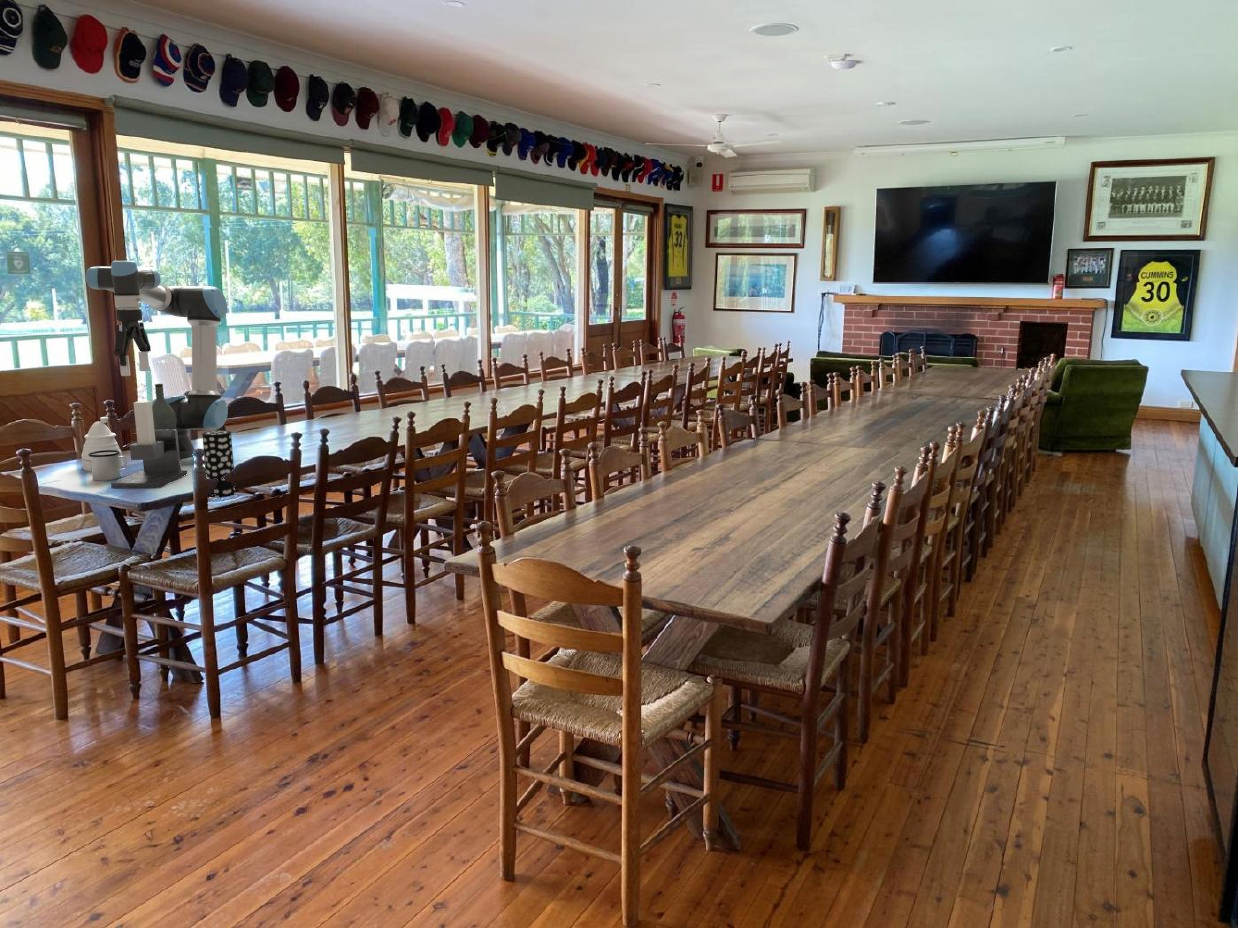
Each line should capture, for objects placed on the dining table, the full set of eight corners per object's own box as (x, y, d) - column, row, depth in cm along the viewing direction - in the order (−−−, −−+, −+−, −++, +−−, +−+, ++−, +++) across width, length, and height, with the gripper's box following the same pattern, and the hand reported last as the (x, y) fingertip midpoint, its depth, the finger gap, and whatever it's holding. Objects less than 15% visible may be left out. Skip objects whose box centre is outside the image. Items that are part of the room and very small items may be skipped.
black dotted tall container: (240, 491, 296) (235, 430, 292) (230, 497, 288) (224, 435, 284) (213, 491, 296) (208, 430, 292) (203, 497, 288) (197, 435, 284)
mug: (100, 482, 308) (97, 456, 306) (85, 479, 313) (82, 453, 311) (135, 476, 318) (132, 450, 316) (119, 473, 323) (117, 447, 321)
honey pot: (121, 462, 342) (116, 414, 338) (125, 468, 331) (120, 418, 328) (81, 465, 335) (76, 417, 331) (84, 472, 324) (78, 421, 321)
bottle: (172, 468, 331) (164, 385, 325) (147, 468, 331) (139, 385, 325) (185, 463, 340) (177, 382, 334) (160, 463, 340) (153, 382, 334)
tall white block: (144, 453, 311) (139, 401, 308) (156, 453, 311) (151, 401, 308) (138, 455, 307) (133, 402, 304) (151, 455, 307) (145, 402, 304)
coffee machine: (141, 474, 321) (136, 429, 318) (187, 474, 321) (183, 429, 318) (111, 487, 301) (106, 439, 298) (160, 487, 302) (155, 439, 298)
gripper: (121, 310, 289) (129, 377, 294) (157, 307, 313) (163, 369, 318) (97, 310, 289) (105, 378, 293) (134, 307, 313) (141, 369, 318)
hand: (135, 373), depth 306 cm, fingers open, 13 cm apart
